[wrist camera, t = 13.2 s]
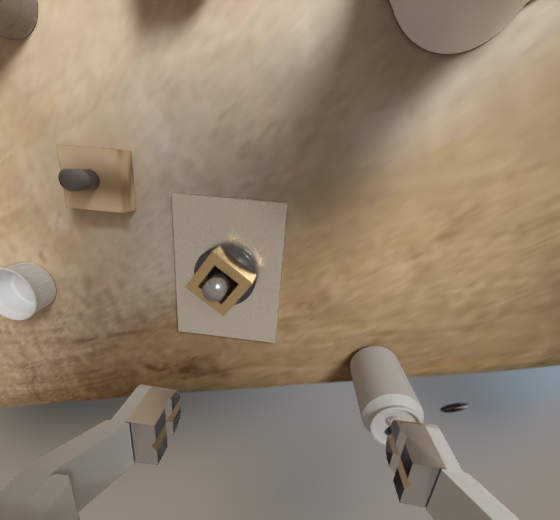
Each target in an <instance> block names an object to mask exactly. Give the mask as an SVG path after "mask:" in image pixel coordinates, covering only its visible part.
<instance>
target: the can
mask: <svg viewBox="0 0 560 520" xmlns="http://www.w3.org/2000/svg"><path fill="white" fill-rule="evenodd" d="M350 370H351V375H352V379H353V383H354V387H355V391H356V396H357V400H358V404H359V409H360V412H361V417H362V421H363V423H364V426H365V427H366V429H367V430H368V431H369V432H371V434H372V436H373V437H374V438H375V439H376V440H377V441H378V442H380V443H382V444H383V445H386V441H387V436H389V435H390V434H391V433H392V432H391V428H390V426H391V422H392V421H393V420H401V421H409V422H417V423H423V420H424V412H423V410H422V407H421V405H420V403H419V401H418V399H417V397H416V395H415V393H414V391H413V389H412V387H411V385H410V383H409V381H408V379H407V377H406V375H405V373H404V371H403V369H402V367H401V365H400V363H399V361H398V359H397V357H396V356H395V355H394V354H393V352H392V351H390V350H388V349H386V348H384V347H380V346H370V347H366V348H363V349H361V350H360V351H358V352H357V353H356V354H355V355H354V356H353V357H352V360H351V363H350Z"/></svg>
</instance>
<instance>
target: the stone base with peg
mask: <svg viewBox="0 0 560 520" xmlns="http://www.w3.org/2000/svg"><path fill="white" fill-rule="evenodd" d="M287 206H288V203H284V202H273V201H261V200H250V199H239V198H228V197H217V196H205V195H194V194H183V193H172V211H173V231H174V252H175V273H176V294H177V314H178V331H181V332H189V333H198V334H206V335H214V336H222V337H230V338H239V339H247V340H255V341H263V342H271V343H275V342H276V333H277V321H278V310H279V298H280V287H281V275H282V263H283V252H284V240H285V229H286V217H287ZM218 246H220V247H222V248H223V249H224V250H226V251H227V252H228V253H229V254H231V255H232V256H233V257H234V258H236V259H237V260H238V261H239V262H241V263H242V264H243V265H244V266H246V267H247V268H248V269H249V270H251V271H252V272H253V273H255V274H256V275H257V276H256V278H255V280H254V282H253V284H252V285H251V286H250V287H249V288H248V289H247V291H246V292H245V293H244V294H243V295H242V296H241V297H240V299H239V300H238V301H237V302H236V303H235V304H234V306H233V307H232V308H231V309H230V310H229V311H228V312H227V314H226V315H225V316H222V315H221V314H220V313H218V312H217V311H216V310H214V309H213V308H212V307H210V306H209V305H208V304H206V303H205V302H204V301H202V300H201V299H200V298H198V297H197V296H196V295H194V294H193V293H192V292H190V291H189V290H188V289H186V288H185V286H186V285H187V284H188V282H189V281H190V280H191V278H192V277H193V276H194V275H195V273H196V272H197V271H198V269H199V268H200V267H201V265H202V264H203V263H204V262H205V260H206V259H207V258H208V256H209V255H210V254H211V252H212V251H214V250H215V249H216V248H217V247H218ZM206 279H207V280H208V281H207V282H206V284H205V285H204V286H203V288H202V294H203V296H204V297H205V298H206V299H207V300H208V301H210V302H218V301H220V300H221V299H222V298H223V297H224V295H225V294H227V295H228V294H229V293H230V292H231V291H232V290H233V288H234V287H235V286H236V285H237V284H238V283H237V282H235V281H234V280H233V279H232V278H230V277H229V276H228V275H227V274H225V273H224V272H223V271H221V270H220V269H219V268H218V267H216V266H215V267H214V268H213V270H212V271H211V272H210V274H209V275H208V276H207V277H206Z"/></svg>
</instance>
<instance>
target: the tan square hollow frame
mask: <svg viewBox="0 0 560 520" xmlns="http://www.w3.org/2000/svg"><path fill="white" fill-rule="evenodd" d="M215 266H216V267H218V268H219V269H220V270H221V271H223V272H224V273H225V274H227V275H228V276H229V277H230V278H232V279H233V280H234V281H235V282H237V283H238V284H237V285H236V286H235V287H234V288H233V290H232V291H231V292H230V293H229V294H228V295H227V294H225V295H224V297H223V298H222V299H221V300H220V301H218V302H210V301H208V300H207V299H206V298H205V297H204V296H203V294H202V288H203V286H204V285H205V284H206V282H207V281H208V280H207V279H206V277H207V276H208V275H209V274H210V272H211V271H212V270H213V268H214V267H215ZM256 276H257V275H256V274H255V273H253V272H252V271H251V270H249V269H248V268H247V267H246V266H244V265H243V264H242V263H241V262H239V261H238V260H237V259H236V258H234V257H233V256H232V255H231V254H229V253H228V252H227V251H226V250H224V249H223V248H222V247H220V246H218V247H217V248H216V249H215V250H214V251H212V252H211V254H210V255H209V256H208V258H207V259H206V260H205V262H204V263H203V264H202V265H201V267H200V268H199V269H198V271H197V272H196V273H195V275H194V276H193V277H192V278H191V280H190V281H189V282H188V284H187V285H186V286H185V288H186V289H188V290H189V291H190V292H192V293H193V294H194V295H196V296H197V297H198V298H200V299H201V300H202V301H204V302H205V303H206V304H208V305H209V306H210V307H212V308H213V309H214V310H216V311H217V312H218V313H220V314H221V315H222V316H225V315H226V314H227V312H228V311H229V310H230V309H231V308H232V307H233V306H234V304H235V303H236V302H237V301H238V300H239V299H240V297H241V296H242V295H243V294H244V293H245V292H246V291H247V289H248V288H249V287H250V286H251V285H252V284H253V282H254V280H255V278H256Z"/></svg>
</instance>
